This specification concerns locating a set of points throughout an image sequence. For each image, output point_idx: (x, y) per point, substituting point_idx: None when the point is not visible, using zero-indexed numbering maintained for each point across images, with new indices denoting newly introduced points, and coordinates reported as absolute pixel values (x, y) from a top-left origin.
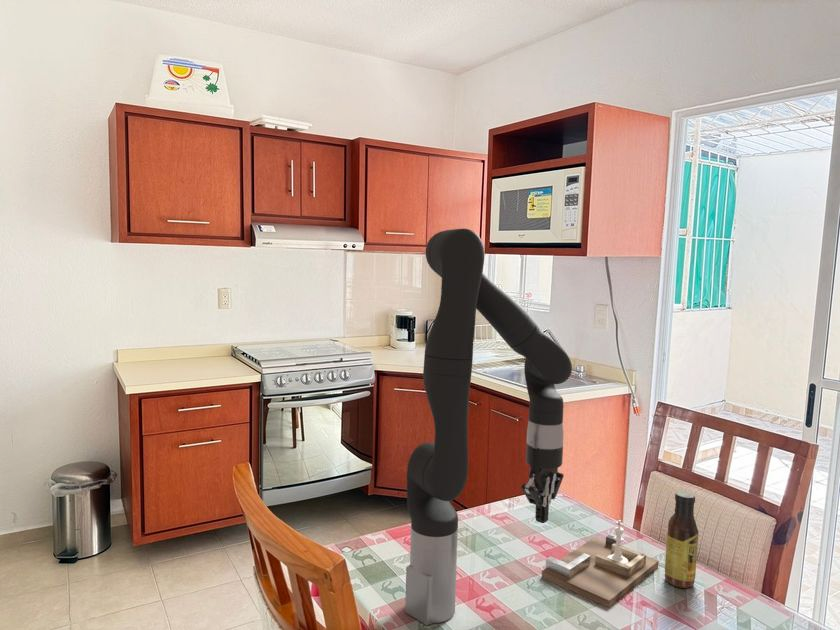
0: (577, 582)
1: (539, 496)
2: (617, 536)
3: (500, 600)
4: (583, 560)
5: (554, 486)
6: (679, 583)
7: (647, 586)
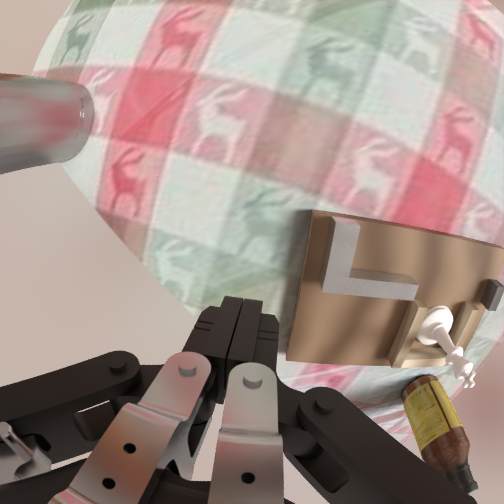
0: (314, 299)
1: (225, 401)
2: (454, 359)
3: (159, 186)
4: (384, 297)
5: (335, 496)
6: (402, 399)
7: (390, 368)
